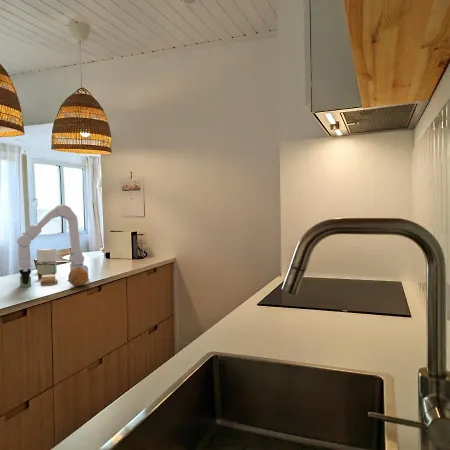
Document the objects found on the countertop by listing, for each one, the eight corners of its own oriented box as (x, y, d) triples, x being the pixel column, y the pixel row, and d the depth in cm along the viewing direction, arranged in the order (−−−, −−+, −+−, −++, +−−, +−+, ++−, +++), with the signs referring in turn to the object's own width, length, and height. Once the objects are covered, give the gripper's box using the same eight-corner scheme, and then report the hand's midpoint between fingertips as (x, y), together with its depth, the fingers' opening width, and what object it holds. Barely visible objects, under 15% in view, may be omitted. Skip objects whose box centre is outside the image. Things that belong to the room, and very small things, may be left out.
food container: (61, 277, 235) (60, 260, 234) (55, 279, 229) (55, 262, 228) (41, 277, 236) (41, 261, 236) (35, 279, 230) (35, 262, 230)
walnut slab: (57, 285, 213) (57, 280, 213) (41, 286, 210) (41, 282, 210) (56, 282, 220) (56, 278, 220) (40, 284, 217) (40, 279, 217)
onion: (90, 284, 211) (90, 265, 210) (84, 287, 201) (84, 268, 200) (72, 284, 210) (72, 266, 210) (65, 288, 200) (65, 268, 200)
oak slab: (54, 280, 213) (54, 276, 213) (41, 281, 211) (41, 277, 211) (55, 278, 219) (55, 274, 219) (42, 279, 217) (42, 275, 217)
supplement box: (57, 271, 262) (56, 248, 261) (44, 272, 255) (43, 250, 254) (50, 270, 267) (49, 248, 267) (37, 271, 260) (36, 249, 260)
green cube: (31, 286, 208) (30, 276, 208) (20, 287, 206) (20, 277, 206) (30, 284, 213) (30, 275, 213) (20, 285, 210) (19, 276, 210)
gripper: (15, 257, 213) (16, 281, 214) (16, 259, 201) (17, 286, 201) (30, 256, 217) (31, 280, 217) (31, 258, 204) (32, 284, 204)
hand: (25, 283), depth 209 cm, fingers closed on green cube, 5 cm apart
